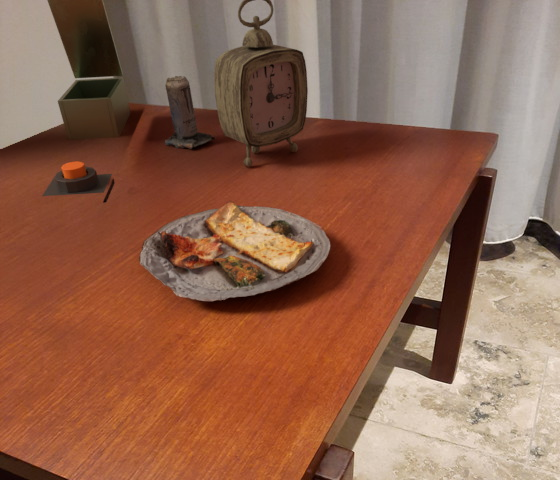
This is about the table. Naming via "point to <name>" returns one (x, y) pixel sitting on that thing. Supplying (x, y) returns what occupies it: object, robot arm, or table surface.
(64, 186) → the panel
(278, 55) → the tabletop clock
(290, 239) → the food plate
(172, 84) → the beverage can
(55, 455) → the table surface
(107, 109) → the machine
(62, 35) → the lid
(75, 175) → the button
